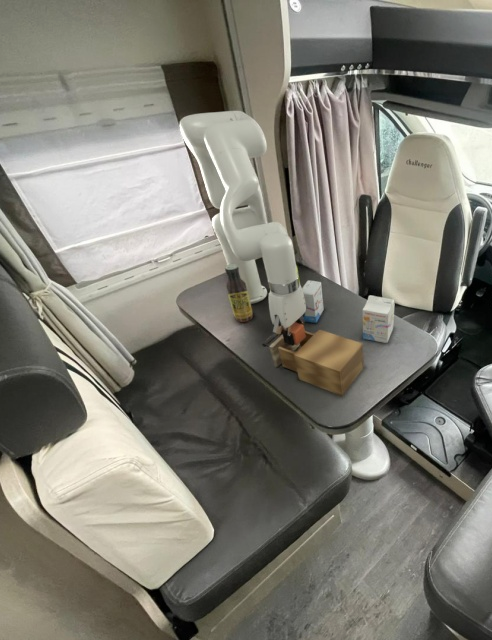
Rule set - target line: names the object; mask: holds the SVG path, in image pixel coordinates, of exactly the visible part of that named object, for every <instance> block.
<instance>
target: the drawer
mask: <svg viewBox="0 0 492 640" xmlns="http://www.w3.org/2000/svg"><path fill="white" fill-rule="evenodd" d="M314 334H315V333H313V332H310V331H307V330H305V335H306V337H305V338H304V339H303V340H302V341H301V342H300V343H299V344H298V345H294V346H292V345H289V344H286V343H285V342H284V338H283V334H275V333H273V332H272V334H271V335H270V336H269V337H268V338H266V339H265V340H264V341H263V342H261V345H262V347H264V348H266V347H267V348H269V351H270V355H271V359H272V363H273V365H274V367H275V368H278V367H280V365H281V366H282V367H283V368H285V369H288V370H291V371H292V372H296V373H298V372H297V367H296V363H295V358H294V354H295V353H296V352H297V351H298V350H299V349H300V348H301V347H302V346H303V345H304V344H305V343H306V342H307V341H308V340H309V339H310V338H311V337H312V336H313V335H314ZM277 337H278V338H277ZM276 338H277V339H276ZM275 339H276V340H275ZM271 342H272V343H271ZM270 343H271V344H270Z"/></svg>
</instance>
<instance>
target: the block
mask: <svg viewBox="0 0 492 640" xmlns="http://www.w3.org/2000/svg"><path fill="white" fill-rule="evenodd" d="M284 330H286V328H284ZM305 331H306V330H305V324H304V325H302V324H299V323H296V322H294V323H293V324H292V325H291V334H293V339H294V343H295V344H294V345H298V344H299V343H300V342H301V341H302V340H303V339H304V338H305V337H306V335H305Z"/></svg>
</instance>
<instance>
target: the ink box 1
mask: <svg viewBox="0 0 492 640" xmlns="http://www.w3.org/2000/svg"><path fill="white" fill-rule="evenodd" d="M301 288H302V291H303V294H304V298H305V304H307V305H308V307H307V309H306V312H305V316H304V320H305V321H304V323H305V322H306V323H315V324H316V323H318V322H319V321H318V320H319V319H320V317H321V316H322V314H323V311H325V310H324V309H325V308H324V299H323V298H324V297H323V288H322V282H321V281H315V280H307V281H306V282H305V284H304V285H303V286H302V287H301Z"/></svg>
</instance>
